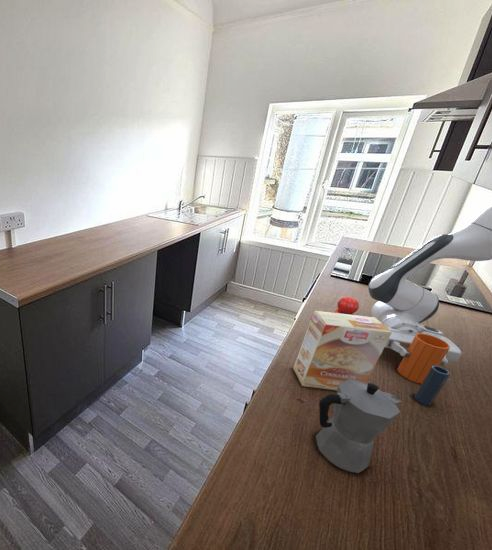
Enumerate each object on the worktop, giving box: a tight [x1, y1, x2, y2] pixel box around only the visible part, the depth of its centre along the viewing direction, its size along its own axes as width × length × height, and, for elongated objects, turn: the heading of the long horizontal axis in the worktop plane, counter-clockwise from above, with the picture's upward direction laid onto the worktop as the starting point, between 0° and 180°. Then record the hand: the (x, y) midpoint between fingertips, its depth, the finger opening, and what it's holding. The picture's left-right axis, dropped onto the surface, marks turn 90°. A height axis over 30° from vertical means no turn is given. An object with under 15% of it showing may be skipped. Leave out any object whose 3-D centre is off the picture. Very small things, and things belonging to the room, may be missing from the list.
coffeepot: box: [315, 379, 402, 474], centre depth 58 cm, size 15×9×18 cm, turn 93°
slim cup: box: [413, 365, 451, 406], centre depth 74 cm, size 3×3×10 cm
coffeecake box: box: [292, 310, 392, 391], centre depth 76 cm, size 15×7×20 cm, turn 82°
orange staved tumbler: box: [397, 333, 450, 385], centre depth 82 cm, size 7×7×12 cm
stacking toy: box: [333, 296, 360, 315], centre depth 90 cm, size 8×8×19 cm
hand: (425, 358), depth 81 cm, fingers closed on orange staved tumbler, 7 cm apart
